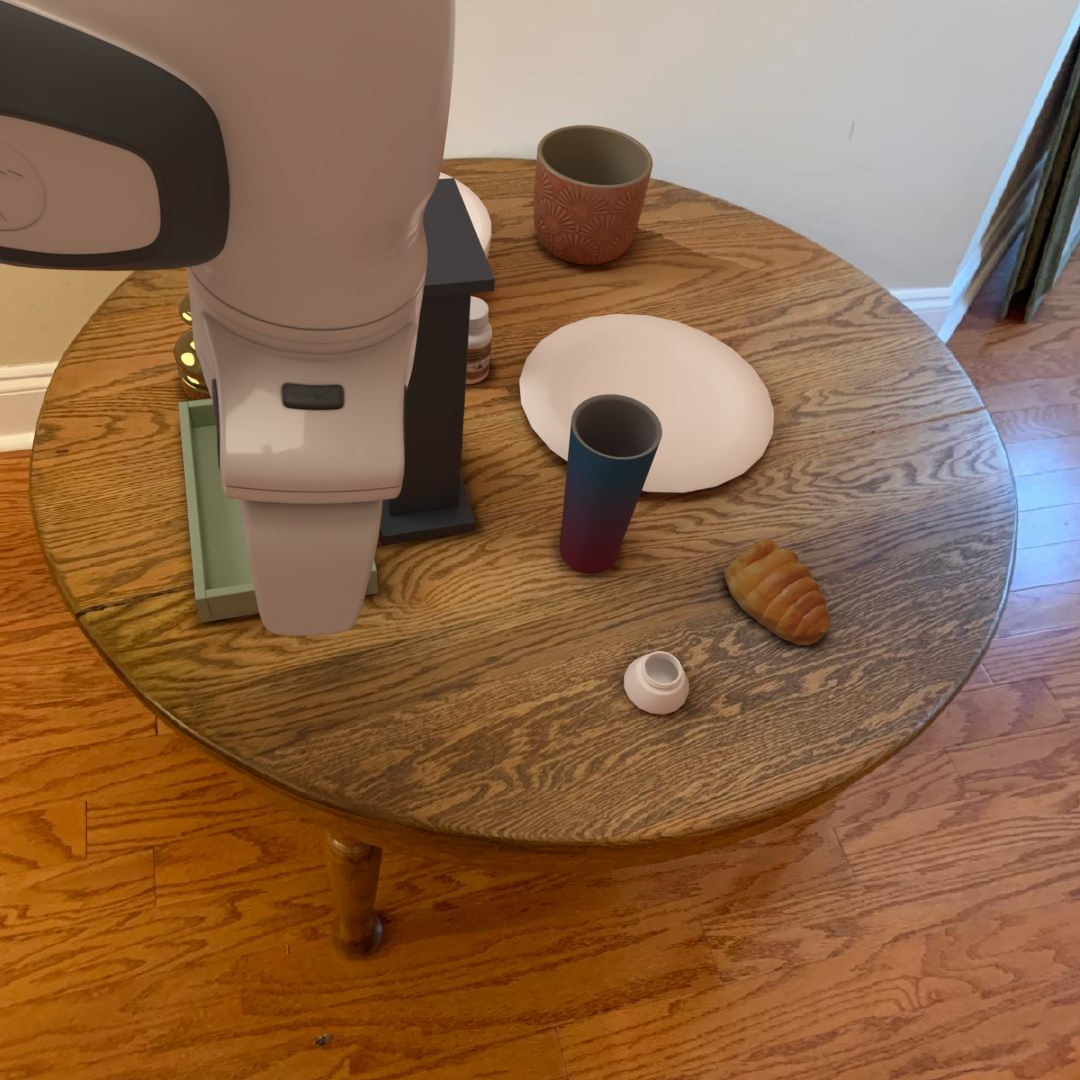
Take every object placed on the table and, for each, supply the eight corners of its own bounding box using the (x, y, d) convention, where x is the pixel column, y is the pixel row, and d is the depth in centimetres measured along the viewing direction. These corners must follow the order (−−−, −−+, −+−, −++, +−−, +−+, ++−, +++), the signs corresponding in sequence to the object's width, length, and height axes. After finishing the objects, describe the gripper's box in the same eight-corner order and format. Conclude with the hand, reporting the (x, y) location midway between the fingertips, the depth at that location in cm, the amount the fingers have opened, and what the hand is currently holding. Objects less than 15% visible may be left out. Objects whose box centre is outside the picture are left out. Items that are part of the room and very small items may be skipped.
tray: (202, 623, 75) (195, 599, 73) (184, 427, 88) (178, 401, 85) (378, 593, 78) (377, 570, 76) (337, 409, 91) (335, 384, 89)
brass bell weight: (242, 347, 95) (227, 261, 87) (277, 393, 91) (265, 307, 84) (169, 373, 92) (146, 285, 84) (203, 421, 88) (183, 334, 80)
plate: (743, 538, 86) (748, 525, 85) (479, 452, 89) (480, 439, 88) (789, 366, 102) (794, 354, 100) (563, 299, 105) (565, 286, 103)
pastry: (844, 627, 81) (860, 601, 78) (786, 664, 78) (800, 638, 75) (767, 550, 86) (780, 523, 83) (710, 582, 83) (721, 555, 80)
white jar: (688, 719, 74) (684, 663, 77) (697, 700, 72) (693, 642, 75) (623, 713, 74) (622, 657, 77) (630, 694, 72) (629, 637, 75)
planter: (580, 290, 106) (594, 200, 98) (505, 234, 111) (513, 144, 103) (656, 251, 112) (676, 164, 104) (582, 200, 117) (596, 113, 109)
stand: (382, 545, 82) (372, 289, 61) (358, 443, 88) (342, 184, 68) (475, 531, 84) (495, 279, 63) (444, 432, 90) (454, 177, 70)
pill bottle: (462, 391, 94) (465, 328, 88) (435, 366, 96) (437, 302, 90) (498, 375, 96) (503, 312, 90) (471, 350, 98) (475, 287, 92)
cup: (640, 571, 83) (678, 448, 71) (567, 591, 81) (593, 467, 69) (607, 512, 86) (638, 386, 75) (536, 530, 84) (557, 403, 73)
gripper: (228, 148, 44) (238, 370, 55) (218, 510, 32) (234, 700, 43) (370, 161, 45) (353, 374, 56) (409, 510, 34) (378, 693, 45)
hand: (301, 518), depth 50 cm, fingers open, 8 cm apart
